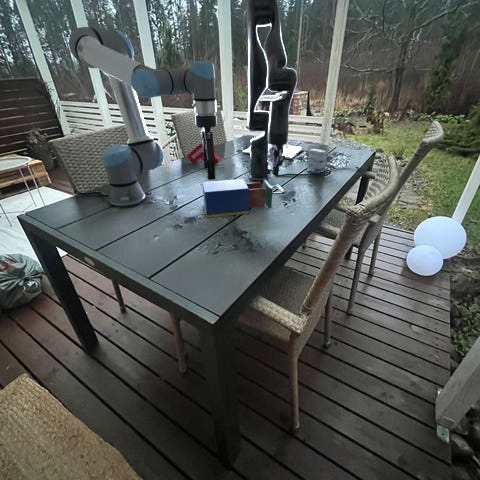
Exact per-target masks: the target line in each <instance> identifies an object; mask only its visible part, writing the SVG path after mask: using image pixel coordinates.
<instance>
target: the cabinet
mask: <svg viewBox="0 0 480 480" xmlns="http://www.w3.org/2000/svg"><path fill="white" fill-rule="evenodd" d="M201 183H202V196H203V207H204V212H205V216H206V218H215V217H216V218H217V217H227V216H237V215H245V214H249V213H250V211H249V210H250V208H249V188H248V186H247V185H246V183H247V182H245V180H244V179H243V178H239V179H226V180H210V181H202V182H201Z"/></svg>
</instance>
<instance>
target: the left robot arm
mask: <svg viewBox="0 0 480 480" xmlns="http://www.w3.org/2000/svg"><path fill="white" fill-rule="evenodd" d="M68 37H69V38H68V47H69V51H70V53H71V55H72V56H73V58H74V59H75V60H76V61H77V62H79V64H81V65H83V66H85V67H87V68H89V69H97V70H99V71H102V73H103V74H104V75H106V76H107V77H108V79H109V83H110V86H111V89H112V92H113V94H114V98H115V101H116V103H117V107H118V109H119V113H120V115H121V119H122V122H123V124H124V128H125V130H126V133H127V136H128V140H127V142H126V144H119V145H113V146H110V147H108V148H106V149H104V150H103V152H102V153H101V158H102V159H101V160H102V164H103V166H104V170H105V173H106V177H107V180H108V184H109V193H108V194H105V193H104V192H103V191H100V190H94V191H89V192H81V191H80V190H78V189H76V188H75V189H74V190H73V193H77V194H79V195H82V196H87V195H88V196H89V195H93V194H101V196H102V197H106V198H107V197H109V204H110V205H111V206H113V207H115V208H130V207H135V206H137V205H140V204H141V203H143V202H144V201H145V200H146V194H145V192H144V190H143V189H142V187H141V185H140V184H139V181H138V177H137V175H139V174H143V173H145V172H148V171H151V170H155V169H157V168H159V167H160V166H161V165H162V163H163V161H164V151H163V148H162V146H161V145H160V144H159V142H158V141H155V140H154V137H153V136H151V135H150V134H149V131H148V128H147V125H146V122H145V119H144V115H143V112H142V108H141V105H140V103H139V98H138V97H140V98H148V99H151V98H157V97H164V96H165V97H166V96H174V95H175V96H176V95H192V98H193V99H192V100H193V103H192V104H191V106H192V108H193V109H194V114H195V115H194V118H195V119H194V122H195V127H196V128H200V129H201V131H200V136H201V143H202V145H203V146H202V148H203V151H205V152H203V156H204V160H203V167H204V169H206V171H207V172H206V173H207V180H208V181H217V180H216V179H217V178H216V164H215V155H214V153H215V145H214V146H213V144H214V132H213V131H212V130H211V129H212V128H215V127H217V126H218V119H217V118H218V117H217V115H216V114H217V100H216V99H217V98H216V76H215V66H214V63H213V62H212V61H206V60H205V61H204V60H203V61H202V60H201V61H199V60H198V61H191V62H190V68H176V67H175V68H173V67H172V68H152V67H150V66H147V65H145V64H144V63H141V62H139V61H137V60H135V52H134V47H133V45H132V42H131V40H130V39H129V37H127V35H126V34H125V33H124V32H122V31H120V30H117V29H112V28H101V27H100V28H99V27H90V26H80V27H77V28H75V29H74V30H72V32H71V33H70V34H69V36H68ZM211 158H212V159H211Z"/></svg>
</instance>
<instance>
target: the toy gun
mask: <svg viewBox="0 0 480 480" xmlns="http://www.w3.org/2000/svg"><path fill="white" fill-rule="evenodd" d="M202 146H203V145H202V142H201V143H199V144H198V145H196V147H195V148H194V149H193V150H191V151H190V152H189V153H188V154H187V155H186V157H187V159H188V160H189V161H190V162H191V163H192V164H194V163H197V162H198V161H199V160H200V159H201V160H202V161H204V156H203V152H205V151H203V148H202ZM213 146H214V147H215V143H213ZM214 155H215V165H217V164H219V163H220V160H221V156H220V155H218V154H217V153H216V152H214ZM211 159H212V158H211Z"/></svg>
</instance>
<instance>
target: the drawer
mask: <svg viewBox="0 0 480 480" xmlns="http://www.w3.org/2000/svg"><path fill="white" fill-rule="evenodd" d="M245 183H246V185H247V186H248V188H249V209H258V208H265V207H266V206H267V209H272V206H273V205H272V204H273V195H285V194H286V191H285V190H284V189H283V188H282V187H281V186H280V185H279V184H276V185H271V184H270V183H269V182H268V181H267V179H265V180H262V182H261V181H253V182H245ZM261 186H262V187H261ZM274 188H276V189H277V190H278V191H275V192H273V189H274Z"/></svg>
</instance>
